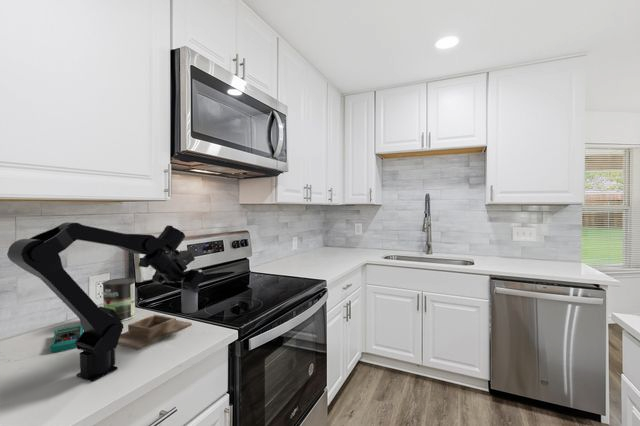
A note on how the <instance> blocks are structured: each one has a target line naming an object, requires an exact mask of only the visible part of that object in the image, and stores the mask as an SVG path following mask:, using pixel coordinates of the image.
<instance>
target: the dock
mask: <svg viewBox="0 0 640 426" xmlns="http://www.w3.org/2000/svg"><path fill="white" fill-rule="evenodd" d="M192 325H193V323H192V322H190V321H189V322H188V321H184V320H179V319H177V318H176V317H169V316H164V315H160V314H153V315H150V316H148V317H145V318H142V319H139V320H137V321H134V322H131V323H129V324H127V329H128V331H124V332H123V333H121V335H120V337H119V340H118V344H117V345H121V346H125V347H129V348H131V349H137V350H138V351H139V350H142V349H144V348H146V347H148V346H151V345H152V344H154V343H157V342H158V341H159V342H160V341H161V340H163V339H165V338H168V337H169V336H172V335H173V334H176V333H178V332H181V331H182V330H186V328H188V327H191V326H192Z"/></svg>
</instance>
